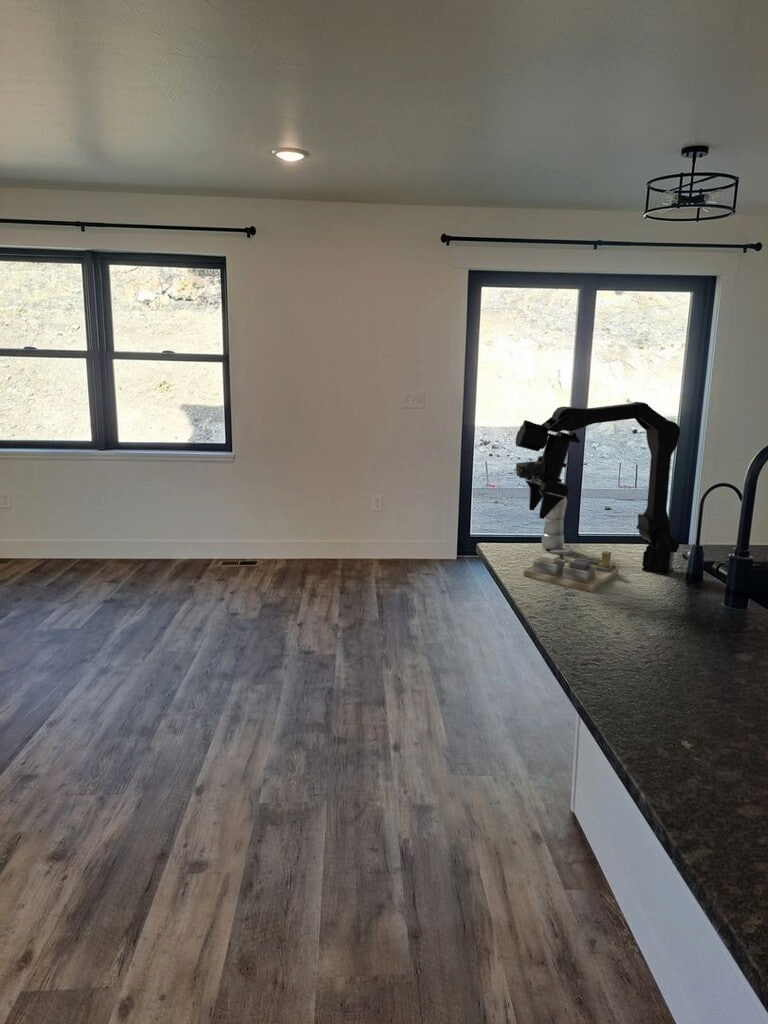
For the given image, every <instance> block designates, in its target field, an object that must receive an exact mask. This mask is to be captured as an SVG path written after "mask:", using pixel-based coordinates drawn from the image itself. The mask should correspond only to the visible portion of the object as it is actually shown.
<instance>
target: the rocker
mask: <svg viewBox="0 0 768 1024" xmlns="http://www.w3.org/2000/svg"><path fill="white" fill-rule="evenodd" d="M547 553H549V554H554V555H560V554H564V555H570V554H571V553H573V549H559V550H550V551H548V552H547Z"/></svg>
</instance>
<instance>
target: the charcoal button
mask: <svg viewBox="0 0 768 1024" xmlns="http://www.w3.org/2000/svg"><path fill="white" fill-rule="evenodd" d="M574 559H575V558H574ZM570 568H574V569H578V570H583V571H585V570H587V569H589V568H590V562H588V561H583V560H578V558H576V559H575V560H574V561H572V562H570Z"/></svg>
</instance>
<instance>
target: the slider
mask: <svg viewBox="0 0 768 1024" xmlns="http://www.w3.org/2000/svg"><path fill="white" fill-rule="evenodd" d="M611 558H612V552H611V551H607V550H605V551H603V552H602V553H601V560H600V561H601V563H600V564H599V565H598V567H603V568H608V569H612V568H613V565H614V564H611ZM610 564H611V565H610Z"/></svg>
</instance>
